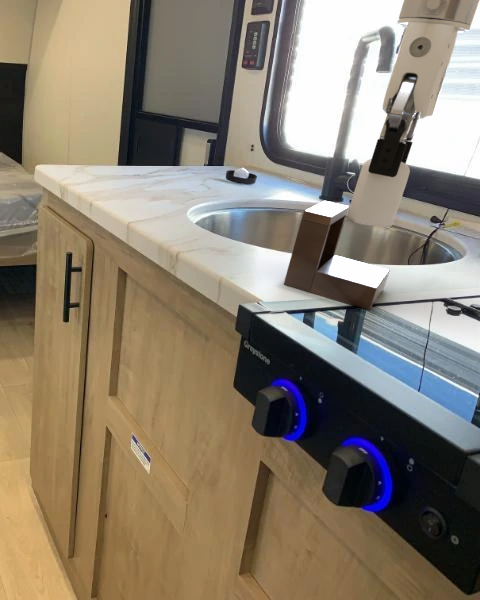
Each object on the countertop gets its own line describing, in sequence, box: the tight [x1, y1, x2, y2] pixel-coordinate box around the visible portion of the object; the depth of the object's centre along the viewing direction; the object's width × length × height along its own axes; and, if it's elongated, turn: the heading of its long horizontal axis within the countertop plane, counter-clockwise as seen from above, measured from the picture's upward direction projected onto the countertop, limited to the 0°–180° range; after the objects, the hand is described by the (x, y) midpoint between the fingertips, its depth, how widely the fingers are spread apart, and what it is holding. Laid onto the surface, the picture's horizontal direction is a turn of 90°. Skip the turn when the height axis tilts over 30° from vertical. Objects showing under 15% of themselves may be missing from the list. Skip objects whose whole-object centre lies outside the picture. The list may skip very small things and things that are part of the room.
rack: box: [283, 200, 391, 311], centre depth 80 cm, size 11×11×10 cm
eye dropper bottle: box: [346, 142, 411, 228], centre depth 76 cm, size 4×6×12 cm
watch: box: [225, 167, 258, 185], centre depth 152 cm, size 8×5×4 cm, turn 77°
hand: (385, 171), depth 75 cm, fingers closed on eye dropper bottle, 4 cm apart
